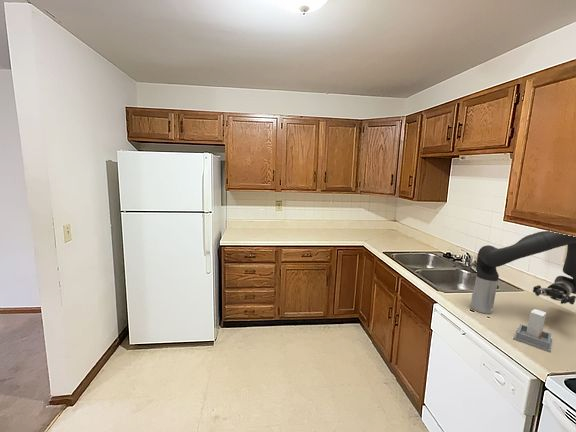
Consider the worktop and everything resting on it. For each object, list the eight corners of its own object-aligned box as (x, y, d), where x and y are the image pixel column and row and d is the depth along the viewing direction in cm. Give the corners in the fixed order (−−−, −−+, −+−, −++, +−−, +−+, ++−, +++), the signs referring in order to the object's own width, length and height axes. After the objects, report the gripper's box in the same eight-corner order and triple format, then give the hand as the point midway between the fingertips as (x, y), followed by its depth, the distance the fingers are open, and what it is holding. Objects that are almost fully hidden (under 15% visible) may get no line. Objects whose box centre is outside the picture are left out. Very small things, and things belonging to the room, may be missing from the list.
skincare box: (537, 343, 124) (543, 316, 122) (524, 338, 128) (530, 311, 126) (541, 338, 128) (546, 312, 126) (528, 333, 131) (534, 308, 129)
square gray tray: (513, 339, 128) (514, 332, 127) (517, 329, 136) (518, 322, 136) (550, 352, 120) (552, 344, 119) (552, 340, 128) (553, 333, 128)
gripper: (542, 277, 147) (531, 283, 137) (581, 288, 136) (573, 296, 126) (538, 292, 148) (527, 298, 139) (577, 304, 137) (568, 312, 127)
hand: (549, 297), depth 132 cm, fingers open, 8 cm apart
